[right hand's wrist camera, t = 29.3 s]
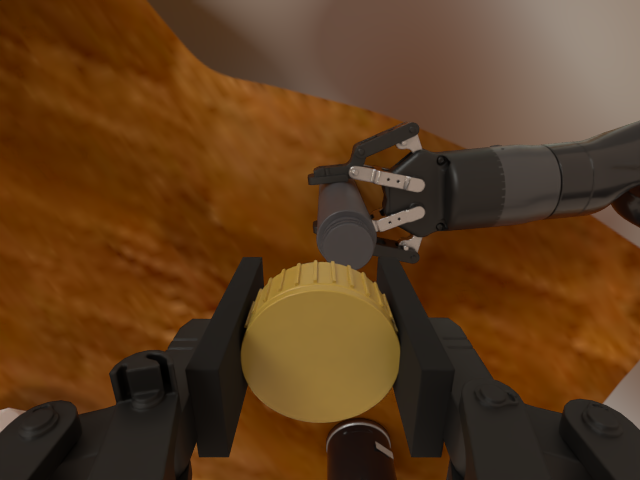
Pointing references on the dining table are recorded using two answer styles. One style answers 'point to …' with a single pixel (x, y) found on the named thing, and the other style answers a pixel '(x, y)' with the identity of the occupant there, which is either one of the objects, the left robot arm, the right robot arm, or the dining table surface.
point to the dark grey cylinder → (344, 225)
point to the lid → (320, 343)
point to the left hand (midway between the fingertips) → (312, 204)
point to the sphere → (8, 416)
